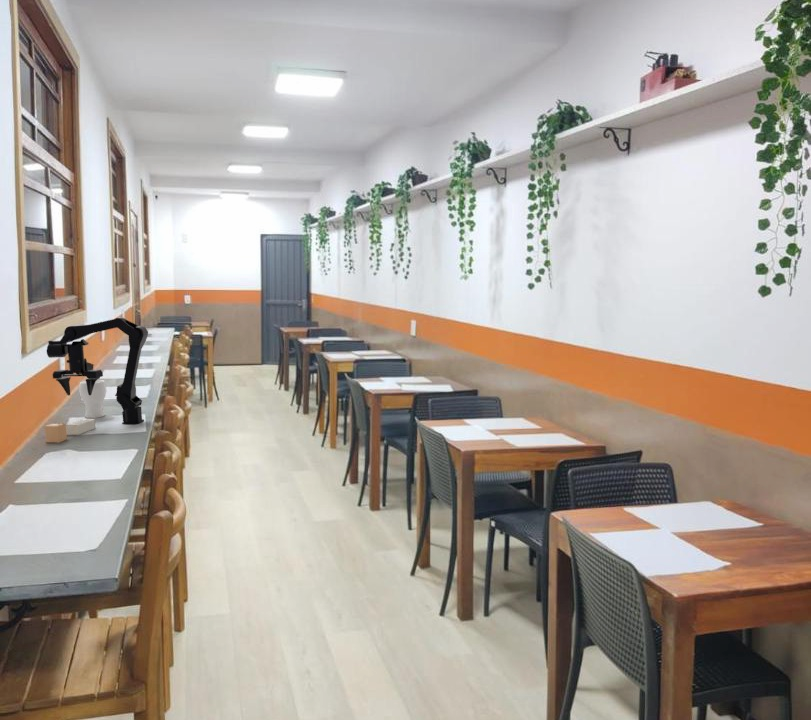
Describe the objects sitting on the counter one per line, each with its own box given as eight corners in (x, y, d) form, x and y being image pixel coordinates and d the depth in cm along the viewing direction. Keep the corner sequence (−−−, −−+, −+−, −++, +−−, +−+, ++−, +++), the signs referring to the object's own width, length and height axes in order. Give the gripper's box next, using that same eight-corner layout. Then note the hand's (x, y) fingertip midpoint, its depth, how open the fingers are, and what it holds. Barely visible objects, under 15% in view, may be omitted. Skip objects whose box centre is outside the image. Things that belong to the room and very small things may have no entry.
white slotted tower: (95, 427, 295) (94, 418, 294) (77, 434, 283) (77, 425, 283) (83, 427, 296) (83, 418, 295) (65, 434, 284) (64, 425, 283)
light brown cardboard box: (67, 439, 276) (65, 422, 275) (58, 442, 271) (57, 425, 271) (54, 439, 277) (53, 422, 276) (46, 442, 272) (44, 425, 271)
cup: (75, 417, 316) (72, 382, 314) (96, 413, 326) (93, 379, 324) (93, 419, 311) (90, 384, 309) (113, 414, 321) (111, 380, 319)
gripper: (108, 354, 305) (111, 391, 307) (66, 354, 308) (70, 391, 310) (93, 357, 294) (96, 396, 296) (50, 358, 297) (53, 396, 299)
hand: (79, 395), depth 301 cm, fingers open, 9 cm apart
